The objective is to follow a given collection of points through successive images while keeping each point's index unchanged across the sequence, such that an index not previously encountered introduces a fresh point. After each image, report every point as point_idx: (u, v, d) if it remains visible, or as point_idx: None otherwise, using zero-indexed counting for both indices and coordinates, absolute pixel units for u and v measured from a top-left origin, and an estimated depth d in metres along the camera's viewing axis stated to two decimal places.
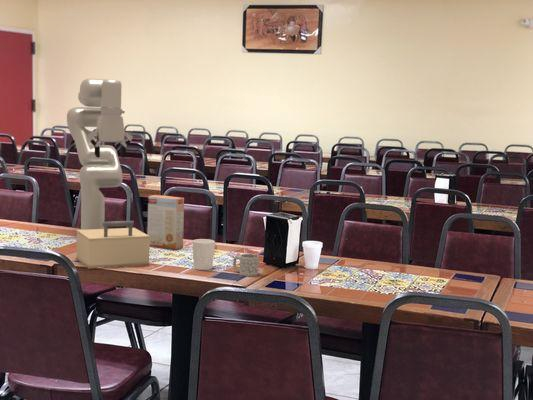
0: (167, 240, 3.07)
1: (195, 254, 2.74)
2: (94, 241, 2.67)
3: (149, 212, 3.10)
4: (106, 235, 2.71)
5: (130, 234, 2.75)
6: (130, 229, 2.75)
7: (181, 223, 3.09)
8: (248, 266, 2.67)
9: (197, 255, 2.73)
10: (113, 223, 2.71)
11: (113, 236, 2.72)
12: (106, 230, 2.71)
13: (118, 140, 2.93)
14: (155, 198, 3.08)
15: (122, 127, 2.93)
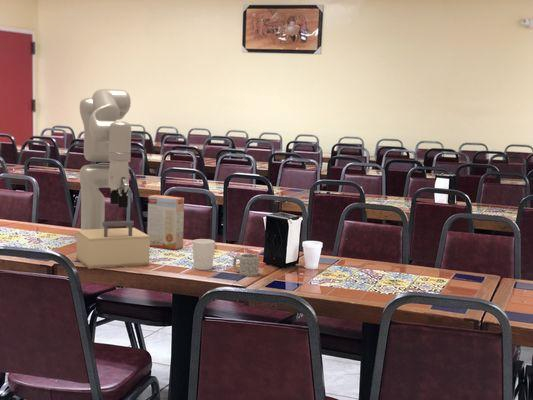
0: (167, 240, 3.07)
1: (195, 254, 2.74)
2: (94, 241, 2.67)
3: (149, 212, 3.10)
4: (106, 235, 2.71)
5: (130, 234, 2.75)
6: (130, 229, 2.75)
7: (181, 223, 3.08)
8: (248, 266, 2.67)
9: (197, 255, 2.73)
10: (113, 223, 2.71)
11: (113, 236, 2.72)
12: (106, 230, 2.71)
13: None
14: (155, 198, 3.08)
15: None
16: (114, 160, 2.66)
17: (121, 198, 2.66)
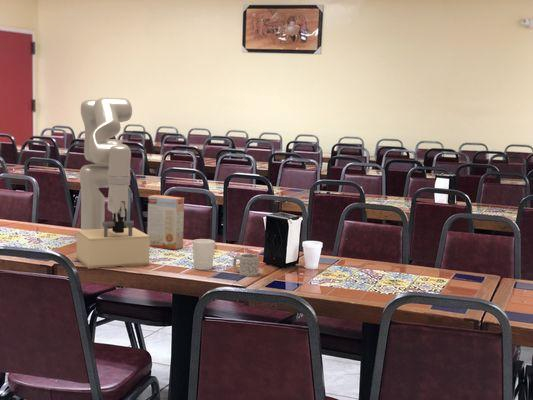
0: (167, 240, 3.07)
1: (195, 254, 2.74)
2: (94, 241, 2.67)
3: (149, 212, 3.10)
4: (106, 235, 2.71)
5: (130, 234, 2.75)
6: (130, 229, 2.75)
7: (181, 223, 3.09)
8: (248, 266, 2.67)
9: (197, 255, 2.73)
10: (113, 223, 2.71)
11: (113, 236, 2.72)
12: (106, 230, 2.71)
13: None
14: (155, 198, 3.08)
15: None
16: (113, 184, 2.67)
17: (117, 224, 2.71)
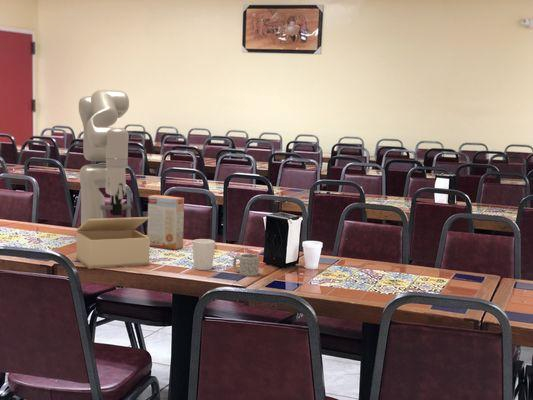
0: (167, 240, 3.07)
1: (195, 254, 2.74)
2: (94, 241, 2.67)
3: (149, 212, 3.10)
4: (105, 217, 2.72)
5: (129, 217, 2.76)
6: (128, 212, 2.76)
7: (181, 223, 3.09)
8: (248, 266, 2.67)
9: (197, 255, 2.73)
10: (111, 206, 2.73)
11: None
12: (104, 213, 2.72)
13: None
14: (155, 198, 3.08)
15: None
16: (111, 166, 2.70)
17: (115, 206, 2.73)
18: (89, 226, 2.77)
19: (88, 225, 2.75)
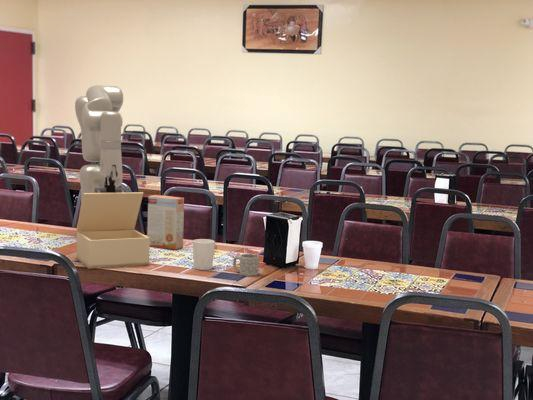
0: (167, 240, 3.07)
1: (195, 254, 2.74)
2: (94, 241, 2.67)
3: (149, 212, 3.10)
4: None
5: None
6: (123, 192, 2.82)
7: (181, 223, 3.08)
8: (248, 266, 2.67)
9: (197, 255, 2.73)
10: None
11: None
12: (99, 192, 2.78)
13: None
14: (155, 198, 3.08)
15: None
16: (105, 148, 2.76)
17: (109, 187, 2.79)
18: (87, 215, 2.79)
19: (86, 211, 2.77)
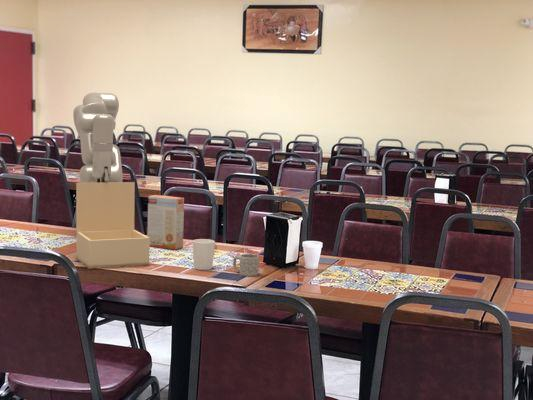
0: (167, 240, 3.07)
1: (195, 254, 2.74)
2: (94, 241, 2.67)
3: (149, 212, 3.10)
4: None
5: None
6: None
7: (181, 223, 3.09)
8: (248, 266, 2.67)
9: (197, 255, 2.73)
10: None
11: None
12: None
13: None
14: (155, 198, 3.08)
15: None
16: (97, 150, 2.85)
17: None
18: (84, 209, 2.83)
19: (82, 205, 2.82)
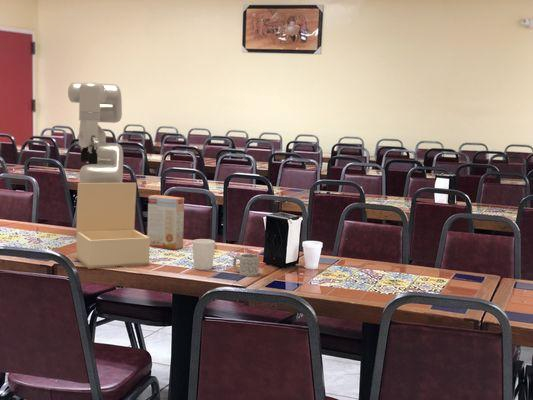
0: (167, 240, 3.07)
1: (195, 254, 2.74)
2: (94, 241, 2.67)
3: (149, 212, 3.10)
4: None
5: None
6: None
7: (181, 223, 3.09)
8: (248, 266, 2.67)
9: (197, 255, 2.73)
10: None
11: None
12: None
13: None
14: (155, 198, 3.08)
15: None
16: (84, 119, 2.81)
17: (91, 155, 2.81)
18: (84, 210, 2.82)
19: (82, 205, 2.81)
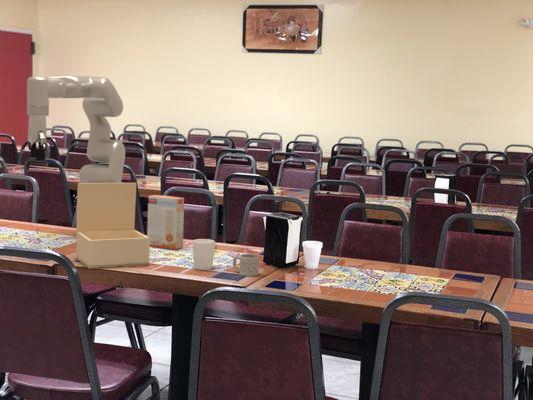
0: (167, 240, 3.07)
1: (195, 254, 2.74)
2: (94, 241, 2.67)
3: (149, 212, 3.10)
4: None
5: None
6: None
7: (181, 223, 3.09)
8: (248, 266, 2.67)
9: (197, 255, 2.73)
10: None
11: None
12: None
13: None
14: (155, 198, 3.08)
15: None
16: (31, 114, 2.72)
17: (38, 151, 2.72)
18: (84, 210, 2.82)
19: (82, 205, 2.81)
